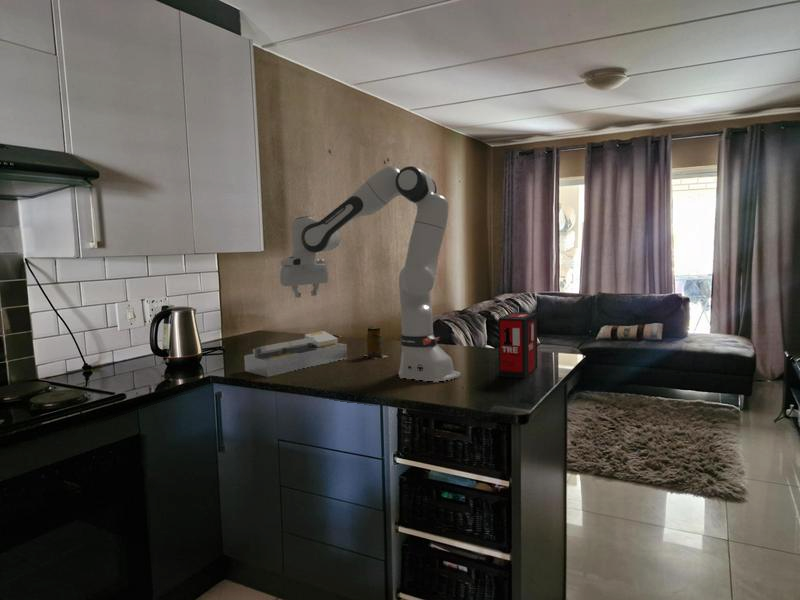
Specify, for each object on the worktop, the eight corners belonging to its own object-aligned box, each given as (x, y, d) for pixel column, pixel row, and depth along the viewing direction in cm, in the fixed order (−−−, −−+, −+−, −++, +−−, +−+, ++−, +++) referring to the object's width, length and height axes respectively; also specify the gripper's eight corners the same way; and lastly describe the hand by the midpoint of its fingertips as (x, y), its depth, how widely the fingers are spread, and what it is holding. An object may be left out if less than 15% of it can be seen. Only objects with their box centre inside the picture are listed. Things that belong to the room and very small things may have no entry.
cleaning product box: (524, 378, 186) (524, 319, 184) (499, 375, 190) (498, 318, 188) (537, 367, 200) (537, 313, 198) (513, 366, 205) (512, 312, 203)
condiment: (376, 354, 234) (375, 326, 233) (388, 356, 228) (388, 328, 227) (362, 356, 230) (361, 328, 229) (374, 359, 223) (373, 330, 222)
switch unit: (347, 358, 226) (346, 336, 225) (267, 376, 198) (266, 351, 198) (323, 354, 236) (322, 332, 235) (245, 371, 209) (243, 346, 208)
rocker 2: (314, 341, 217) (313, 336, 217) (293, 345, 210) (292, 340, 210) (301, 345, 223) (300, 340, 223) (280, 349, 216) (279, 344, 216)
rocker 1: (289, 346, 208) (288, 341, 209) (266, 351, 201) (264, 345, 201) (276, 350, 215) (275, 344, 215) (253, 354, 207) (252, 349, 207)
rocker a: (337, 342, 226) (338, 338, 226) (317, 346, 219) (318, 342, 218) (323, 335, 232) (324, 330, 232) (303, 339, 225) (304, 334, 224)
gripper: (320, 259, 218) (322, 293, 220) (277, 261, 203) (278, 298, 205) (331, 259, 214) (332, 294, 215) (287, 261, 199) (289, 299, 200)
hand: (306, 296), depth 210 cm, fingers open, 6 cm apart
